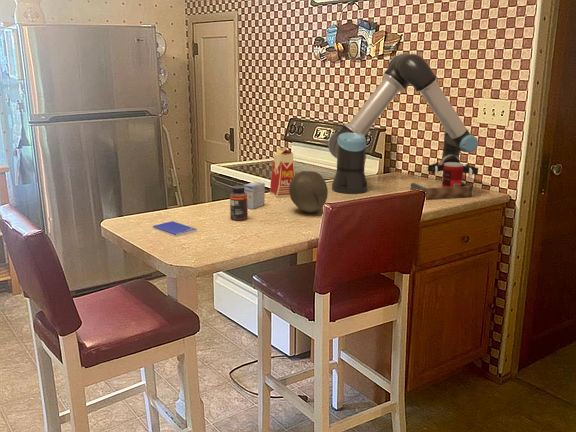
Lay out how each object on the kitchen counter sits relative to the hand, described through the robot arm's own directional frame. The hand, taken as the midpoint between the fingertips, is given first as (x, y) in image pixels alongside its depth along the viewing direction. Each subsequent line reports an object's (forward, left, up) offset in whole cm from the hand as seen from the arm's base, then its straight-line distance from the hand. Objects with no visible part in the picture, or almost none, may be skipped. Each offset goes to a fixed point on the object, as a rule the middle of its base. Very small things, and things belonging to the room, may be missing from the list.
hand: (453, 173), depth 232 cm
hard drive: (-114, -20, -10) cm, 116 cm away
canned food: (+2, +3, -8) cm, 9 cm away
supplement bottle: (-91, -12, -10) cm, 93 cm away
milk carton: (-66, +19, -10) cm, 70 cm away
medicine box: (-82, +3, -10) cm, 83 cm away
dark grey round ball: (-65, -9, -10) cm, 67 cm away
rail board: (-3, +3, -10) cm, 11 cm away
